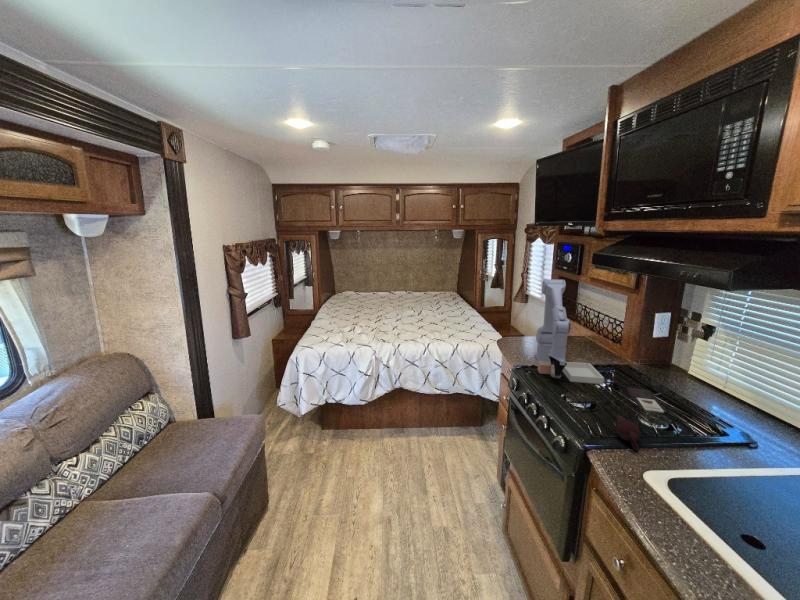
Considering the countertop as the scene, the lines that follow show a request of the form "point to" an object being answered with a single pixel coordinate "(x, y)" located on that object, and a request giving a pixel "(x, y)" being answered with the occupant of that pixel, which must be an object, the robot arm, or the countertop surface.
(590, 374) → the tray
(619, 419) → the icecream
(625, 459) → the countertop surface
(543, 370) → the carton
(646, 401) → the chocolate bar
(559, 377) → the tin
